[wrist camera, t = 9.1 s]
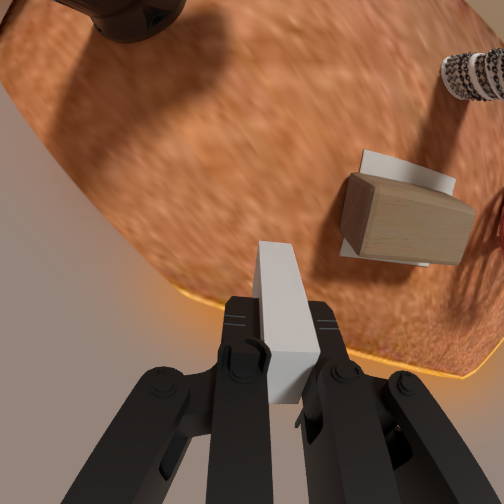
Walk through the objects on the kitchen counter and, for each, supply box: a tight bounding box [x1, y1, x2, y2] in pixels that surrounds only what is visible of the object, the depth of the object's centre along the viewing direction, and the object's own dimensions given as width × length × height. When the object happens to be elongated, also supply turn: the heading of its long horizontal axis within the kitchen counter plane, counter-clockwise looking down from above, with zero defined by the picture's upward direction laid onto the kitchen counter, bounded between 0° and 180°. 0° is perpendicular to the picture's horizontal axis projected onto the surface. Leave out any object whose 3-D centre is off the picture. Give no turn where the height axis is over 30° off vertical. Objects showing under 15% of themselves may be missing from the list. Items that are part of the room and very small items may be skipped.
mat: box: [339, 149, 456, 267], centre depth 42 cm, size 18×20×1 cm
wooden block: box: [339, 172, 476, 266], centre depth 37 cm, size 10×10×20 cm
